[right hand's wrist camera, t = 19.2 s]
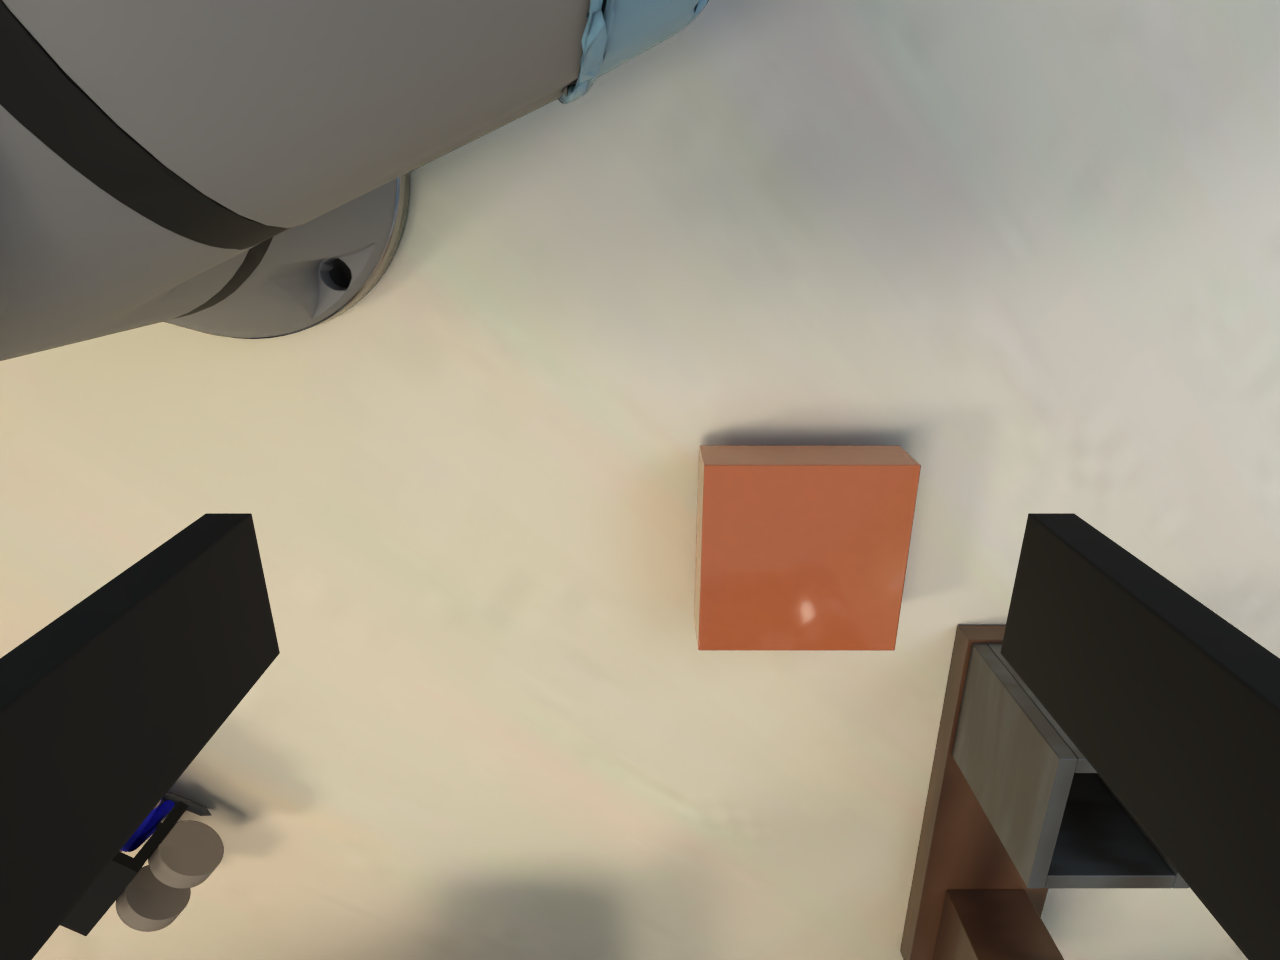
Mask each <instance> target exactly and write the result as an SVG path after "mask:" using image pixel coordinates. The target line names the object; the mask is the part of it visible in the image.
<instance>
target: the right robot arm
mask: <svg viewBox="0 0 1280 960" xmlns="http://www.w3.org/2000/svg"><path fill="white" fill-rule="evenodd" d="M707 2H708V0H0V361H2V360H7V359H11V358H15V357H19V356H23V355H27V354H31V353H35V352H39V351H44V350H48V349H52V348H56V347H60V346H64V345H68V344H72V343H77V342H81V341H85V340H89V339H93V338H97V337H101V336H105V335H109V334H114V333H118V332H122V331H126V330H130V329H134V328H138V327H142V326H146V325H151V324H155V323H159V322H166V323H170V324H174V325H177V326H181V327H185V328H188V329H192V330H196V331H200V332H203V333H207V334H212V335H218V336H225V337H232V338H244V339H261V338H272V337H279V336H285V335H289V334H292V333H296V332H300V331H303V330H305V329H308V328H311V327H313V326H316V325H319V324H321V323H324V322H327V321H329V320H331V319H333V318H334V317H336V316H338V315H340V314H342V313H343V312H345V311H346V310H348V309H349V308H351V307H352V306H353V305H355V304H356V303H357V302H358V301H359V300H361V299H362V298H363V297H364V296H365V295H366V294H367V293H368V292H369V291H370V290H371V289H372V288H373V287H374V285H375V284H376V283H377V281H378V280H379V279H380V277H381V276H382V275H383V273H384V272H385V270H386V268H387V267H388V265H389V263H390V262H391V260H392V258H393V255H394V253H395V251H396V249H397V247H398V244H399V241H400V238H401V235H402V232H403V228H404V224H405V220H406V215H407V208H408V201H409V172H410V171H412V170H414V169H416V168H418V167H420V166H422V165H424V164H426V163H428V162H430V161H432V160H434V159H437V158H439V157H441V156H443V155H445V154H447V153H449V152H451V151H453V150H455V149H457V148H459V147H461V146H463V145H465V144H467V143H469V142H471V141H473V140H475V139H477V138H479V137H481V136H483V135H485V134H487V133H489V132H491V131H493V130H495V129H497V128H499V127H501V126H503V125H505V124H507V123H509V122H511V121H513V120H515V119H517V118H519V117H521V116H524V115H526V114H528V113H530V112H532V111H534V110H536V109H538V108H540V107H542V106H544V105H546V104H548V103H550V102H552V101H554V100H556V99H558V100H559V101H560V102H561V103H563V104H566V103H569V102H571V101H573V100H576V99H578V98H580V97H581V96H582V95H584V94H585V93H586V92H587V91H588V90H589V88H590V87H591V85H592V84H593V82H594V81H595V79H596V78H597V77H599V76H601V75H603V74H605V73H606V72H608V71H610V70H612V69H614V68H615V67H617V66H619V65H621V64H623V63H624V62H626V61H628V60H630V59H632V58H633V57H635V56H637V55H639V54H641V53H642V52H644V51H646V50H648V49H650V48H651V47H653V46H655V45H657V44H659V43H660V42H662V41H664V40H666V39H668V38H669V37H671V36H673V35H674V34H676V33H678V32H679V31H681V30H682V29H683V28H685V27H686V26H687V25H688V24H689V23H690V22H691V21H692V20H694V19H695V18H696V16H697V15H698V14H699V13H700V12H701V11H702V10H703V8H704V7H705V6H706V4H707ZM279 653H280V652H279V647H278V643H277V638H276V633H275V628H274V623H273V618H272V613H271V608H270V603H269V598H268V593H267V588H266V583H265V578H264V573H263V569H262V564H261V559H260V554H259V549H258V544H257V539H256V534H255V529H254V524H253V519H252V514H205V515H203V516H202V517H201V518H199V519H198V520H196V521H195V522H193V523H192V524H191V525H189V526H188V527H186V528H185V529H184V530H182V531H181V532H179V533H178V534H176V535H175V536H174V537H172V538H171V539H169V540H168V541H167V542H165V543H164V544H162V545H161V546H159V547H158V548H157V549H155V550H154V551H152V552H151V553H150V554H148V555H147V556H145V557H144V558H142V559H141V560H140V561H138V562H137V563H135V564H134V565H132V566H131V567H130V568H128V569H127V570H125V571H124V572H123V573H121V574H120V575H118V576H117V577H115V578H114V579H113V580H111V581H110V582H108V583H107V584H106V585H104V586H103V587H101V588H100V589H98V590H97V591H96V592H94V593H93V594H91V595H90V596H89V597H87V598H86V599H84V600H83V601H81V602H80V603H79V604H77V605H76V606H74V607H73V608H72V609H70V610H69V611H67V612H66V613H64V614H63V615H62V616H60V617H59V618H57V619H56V620H54V621H53V622H52V623H50V624H49V625H47V626H46V627H45V628H43V629H42V630H40V631H39V632H37V633H36V634H35V635H33V636H32V637H30V638H29V639H28V640H26V641H25V642H23V643H22V644H20V645H19V646H18V647H16V648H15V649H13V650H12V651H11V652H9V653H8V654H6V655H5V656H3V657H2V658H1V659H0V960H32V958H33V957H34V956H35V955H36V953H37V952H38V951H39V950H40V949H41V947H42V946H43V945H44V944H45V942H46V941H47V940H48V939H49V937H50V936H51V935H52V934H53V932H54V931H55V930H56V929H57V928H58V926H59V925H60V924H61V923H62V921H63V920H64V919H65V918H66V916H67V915H68V914H69V913H70V911H71V910H72V909H73V908H74V907H75V905H76V904H77V903H78V902H79V900H80V899H81V898H82V897H83V895H84V894H85V893H86V892H87V890H88V889H89V888H90V887H91V886H92V884H93V883H94V882H95V881H96V879H97V878H98V877H99V876H100V874H101V873H102V872H103V871H104V869H105V868H106V867H107V866H108V865H109V863H110V862H111V861H112V860H113V858H114V857H115V856H116V855H117V853H118V852H119V851H120V850H121V848H122V847H123V846H124V845H125V844H126V842H127V841H128V840H129V839H130V837H131V836H132V835H133V834H134V832H135V831H136V830H137V829H138V827H139V826H140V825H141V824H142V822H143V821H144V820H145V819H146V818H147V816H148V815H149V814H150V813H151V811H152V810H153V809H154V808H155V806H156V805H157V804H158V803H159V801H160V800H161V799H162V798H163V797H164V795H165V794H166V793H167V792H168V790H169V789H170V788H171V787H172V785H173V784H174V783H175V782H176V780H177V779H178V778H179V777H180V776H181V774H182V773H183V772H184V771H185V769H186V768H187V767H188V766H189V764H190V763H191V762H192V761H193V759H194V758H195V757H196V756H197V755H198V753H199V752H200V751H201V750H202V748H203V747H204V746H205V745H206V743H207V742H208V741H209V740H210V738H211V737H212V736H213V735H214V734H215V732H216V731H217V730H218V729H219V727H220V726H221V725H222V724H223V722H224V721H225V720H226V719H227V717H228V716H229V715H230V714H231V713H232V711H233V710H234V709H235V708H236V706H237V705H238V704H239V703H240V701H241V700H242V699H243V698H244V696H245V695H246V694H247V693H248V692H249V690H250V689H251V688H252V687H253V685H254V684H255V683H256V682H257V680H258V679H259V678H260V677H261V675H262V674H263V673H264V672H265V670H266V669H267V668H268V667H269V666H270V664H271V663H272V662H273V661H274V659H275V658H276V657H277V656H278V654H279ZM1000 653H1001V654H1002V656H1003V657H1004V658H1005V659H1006V661H1007V662H1008V663H1009V664H1010V666H1011V667H1012V668H1013V669H1014V670H1015V672H1016V673H1017V674H1018V675H1019V677H1020V678H1021V679H1022V680H1023V682H1024V683H1025V684H1026V685H1027V687H1028V688H1029V689H1030V690H1031V692H1032V693H1033V694H1034V695H1035V696H1036V698H1037V699H1038V700H1039V701H1040V703H1041V704H1042V705H1043V706H1044V708H1045V709H1046V710H1047V711H1048V713H1049V714H1050V715H1051V716H1052V717H1053V719H1054V720H1055V721H1056V722H1057V724H1058V725H1059V726H1060V727H1061V729H1062V730H1063V731H1064V732H1065V734H1066V735H1067V736H1068V737H1069V738H1070V740H1071V741H1072V742H1073V743H1074V745H1075V746H1076V747H1077V748H1078V750H1079V751H1080V752H1081V753H1082V755H1083V756H1084V757H1085V758H1086V759H1087V761H1088V762H1089V763H1090V764H1091V766H1092V767H1093V768H1094V769H1095V771H1096V772H1097V773H1098V774H1099V776H1100V777H1101V778H1102V779H1103V780H1104V782H1105V783H1106V784H1107V785H1108V787H1109V788H1110V789H1111V790H1112V792H1113V793H1114V794H1115V795H1116V797H1117V798H1118V799H1119V800H1120V801H1121V803H1122V804H1123V805H1124V806H1125V808H1126V809H1127V810H1128V811H1129V813H1130V814H1131V815H1132V816H1133V818H1134V819H1135V820H1136V821H1137V823H1138V824H1139V825H1140V826H1141V827H1142V829H1143V830H1144V831H1145V832H1146V834H1147V835H1148V836H1149V837H1150V839H1151V840H1152V841H1153V842H1154V844H1155V845H1156V846H1157V847H1158V848H1159V850H1160V851H1161V852H1162V853H1163V855H1164V856H1165V857H1166V858H1167V860H1168V861H1169V862H1170V863H1171V865H1172V866H1173V867H1174V868H1175V869H1176V871H1177V872H1178V873H1179V874H1180V876H1181V877H1182V878H1183V879H1184V881H1185V882H1186V883H1187V884H1188V886H1189V887H1190V888H1191V889H1192V890H1193V892H1194V893H1195V894H1196V895H1197V897H1198V898H1199V899H1200V900H1201V902H1202V903H1203V904H1204V905H1205V907H1206V908H1207V909H1208V910H1209V911H1210V913H1211V914H1212V915H1213V916H1214V918H1215V919H1216V920H1217V921H1218V923H1219V924H1220V925H1221V926H1222V928H1223V929H1224V930H1225V931H1226V932H1227V934H1228V935H1229V936H1230V937H1231V939H1232V940H1233V941H1234V942H1235V944H1236V945H1237V946H1238V947H1239V949H1240V950H1241V951H1242V952H1243V953H1244V955H1245V956H1246V957H1247V958H1248V960H1280V659H1279V658H1278V657H1277V656H1275V655H1274V654H1272V653H1271V652H1269V651H1268V650H1267V649H1265V648H1264V647H1262V646H1261V645H1260V644H1258V643H1257V642H1255V641H1254V640H1252V639H1251V638H1250V637H1248V636H1247V635H1245V634H1244V633H1243V632H1241V631H1240V630H1238V629H1237V628H1235V627H1234V626H1233V625H1231V624H1230V623H1228V622H1227V621H1226V620H1224V619H1223V618H1221V617H1220V616H1218V615H1217V614H1216V613H1214V612H1213V611H1211V610H1210V609H1208V608H1207V607H1206V606H1204V605H1203V604H1201V603H1200V602H1199V601H1197V600H1196V599H1194V598H1193V597H1191V596H1190V595H1189V594H1187V593H1186V592H1184V591H1183V590H1182V589H1180V588H1179V587H1177V586H1176V585H1174V584H1173V583H1172V582H1170V581H1169V580H1167V579H1166V578H1165V577H1163V576H1162V575H1160V574H1159V573H1157V572H1156V571H1155V570H1153V569H1152V568H1150V567H1149V566H1148V565H1146V564H1145V563H1143V562H1142V561H1140V560H1139V559H1138V558H1136V557H1135V556H1133V555H1132V554H1130V553H1129V552H1128V551H1126V550H1125V549H1123V548H1122V547H1121V546H1119V545H1118V544H1116V543H1115V542H1113V541H1112V540H1111V539H1109V538H1108V537H1106V536H1105V535H1104V534H1102V533H1101V532H1099V531H1098V530H1096V529H1095V528H1094V527H1092V526H1091V525H1089V524H1088V523H1087V522H1085V521H1084V520H1082V519H1081V518H1079V517H1078V516H1077V515H1075V514H1028V519H1027V524H1026V529H1025V534H1024V539H1023V544H1022V549H1021V554H1020V559H1019V564H1018V569H1017V573H1016V578H1015V583H1014V588H1013V593H1012V598H1011V603H1010V608H1009V613H1008V618H1007V623H1006V628H1005V633H1004V638H1003V643H1002V647H1001V652H1000Z"/></svg>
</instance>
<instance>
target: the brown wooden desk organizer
mask: <svg viewBox="0 0 1280 960" xmlns="http://www.w3.org/2000/svg"><path fill="white" fill-rule="evenodd" d="M1005 628H1006V625H958V626H957V632H956V637H955V643H954V649H953V655H952V660H951V666H950V672H949V677H948V683H947V689H946V694H945V700H944V706H943V712H942V717H941V723H940V729H939V734H938V740H937V746H936V751H935V757H934V763H933V768H932V774H931V780H930V786H929V791H928V797H927V803H926V808H925V814H924V820H923V825H922V831H921V837H920V842H919V848H918V854H917V860H916V865H915V871H914V877H913V882H912V888H911V894H910V899H909V905H908V911H907V916H906V922H905V928H904V934H903V939H902V945H901V953H902V956H903V959H904V960H1064V959H1063V957H1062V955H1061V953H1060V952H1059V950H1058V948H1057V946H1056V944H1055V943H1054V941H1053V939H1052V937H1051V936H1050V934H1049V932H1048V930H1047V929H1046V927H1045V925H1044V923H1043V921H1042V920H1041V914H1042V910H1043V906H1044V903H1045V899H1046V895H1047V891H1048V888H1189V886H1188V884H1187V883H1186V882H1185V881H1184V879H1183V878H1182V877H1181V876H1180V874H1179V873H1178V872H1177V871H1176V869H1175V868H1174V867H1173V866H1172V865H1171V863H1170V862H1169V861H1168V860H1167V858H1166V857H1165V856H1164V855H1163V853H1162V852H1161V851H1160V850H1159V848H1158V847H1157V846H1156V845H1155V844H1154V842H1153V841H1152V840H1151V839H1150V837H1149V836H1148V835H1147V834H1146V832H1145V831H1144V830H1143V829H1142V827H1141V826H1140V825H1139V824H1138V823H1137V821H1136V820H1135V819H1134V818H1133V816H1132V815H1131V814H1130V813H1129V811H1128V810H1127V809H1126V808H1125V806H1124V805H1123V804H1122V803H1121V801H1120V800H1119V799H1118V798H1117V797H1116V795H1115V794H1114V793H1113V792H1112V790H1111V789H1110V788H1109V787H1108V785H1107V784H1106V783H1105V782H1104V780H1103V779H1102V778H1101V777H1100V776H1099V774H1098V773H1097V772H1096V771H1095V769H1094V768H1093V767H1092V766H1091V764H1090V763H1089V762H1088V761H1087V759H1086V758H1085V757H1084V756H1083V755H1082V753H1081V752H1080V751H1079V750H1078V748H1077V747H1076V746H1075V745H1074V743H1073V742H1072V741H1071V740H1070V738H1069V737H1068V736H1067V735H1066V734H1065V732H1064V731H1063V730H1062V729H1061V727H1060V726H1059V725H1058V724H1057V722H1056V721H1055V720H1054V719H1053V717H1052V716H1051V715H1050V714H1049V713H1048V711H1047V710H1046V709H1045V708H1044V706H1043V705H1042V704H1041V703H1040V701H1039V700H1038V699H1037V698H1036V696H1035V695H1034V694H1033V693H1032V692H1031V690H1030V689H1029V688H1028V687H1027V685H1026V684H1025V683H1024V682H1023V680H1022V679H1021V678H1020V677H1019V675H1018V674H1017V673H1016V672H1015V670H1014V669H1013V668H1012V667H1011V666H1010V664H1009V663H1008V662H1007V661H1006V659H1005V658H1004V657H1003V656H1002V654H1001V653H1000V652H1001V647H1002V643H1003V638H1004V633H1005Z"/></svg>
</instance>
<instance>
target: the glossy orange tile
mask: <svg viewBox="0 0 1280 960" xmlns="http://www.w3.org/2000/svg"><path fill="white" fill-rule="evenodd" d="M920 468H921V465H920V464H919V463H918V462H917V461H916V460H914V459H913V458H912V457H911V456H910V455H909V454H908V453H907V452H906V451H905V450H904V449H903V448H901V447H900V446H700V447H699V475H698V509H697V542H696V576H695V609H694V621H695V629H696V637H697V644H698V650H895V643H896V636H897V629H898V622H899V615H900V608H901V601H902V594H903V587H904V580H905V573H906V566H907V559H908V552H909V545H910V538H911V531H912V524H913V517H914V510H915V503H916V496H917V489H918V482H919V475H920Z"/></svg>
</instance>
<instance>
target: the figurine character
mask: <svg viewBox="0 0 1280 960" xmlns="http://www.w3.org/2000/svg"><path fill="white" fill-rule="evenodd" d="M162 799H164V800H165V801H164V802H163V803H162V804H161V805H160V803H161V801H162ZM162 799H161V800H160V801H159V803H158V804H157V805H156V806H155V808H154V809H153V810H152V811H151V813H150V814H149V815H148V816H147V818H146V819H145V820H144V821H143V822H142V824H141V825H140V826H139V827H138V829H137V830H136V831H135V832H134V834H133V835H132V836H131V837H130V839H129V840H128V841H127V842H126V844H125V845H124V846H123V847H122V848H121V850H120V851H119V852H118V853H117V855H116V856H115V857H114V858H113V860H112V861H111V862H110V863H109V865H108V866H107V867H106V868H105V869H104V871H103V872H102V873H101V874H100V876H99V877H98V878H97V879H96V881H95V882H94V883H93V884H92V886H91V887H90V888H89V889H88V890H87V892H86V893H85V894H84V895H83V897H82V898H81V899H80V900H79V902H78V903H77V904H76V905H75V907H74V908H73V909H72V910H71V911H70V913H69V914H68V915H67V916H66V918H65V919H64V920H63V921H62V923H61V924H60V925H61V926H64V927H66V928H68V929H70V930H73V931H75V932H77V933H80V934H82V935H84V936H87V935H88V933H89V932H90V931H91V930H92V928H93V927H94V926H95V925H96V924H97V922H98V921H99V920H100V919H101V918H102V916H103V915H104V914H105V913H106V911H107V910H108V909H109V908H110V907H111V905H112V904H113V903H114V902H115V900H116V910H117V913H118V915H119V917H120V919H121V920H122V921H123V922H124V923H125V924H126V925H128V926H129V927H131V928H133V929H135V930H139V931H145V932H151V931H157V930H160V929H163V928H165V927H166V926H168V925H169V924H171V923H172V922H173V921H174V920H175V919H176V917H177V916H178V915H179V914H180V913H181V912H182V910H183V909H184V908H185V907H186V905H187V904H188V901H189V899H190V892H191V891H190V888H191V887H194V886H197V885H199V884H201V883H202V882H204V881H205V880H206V879H207V878H208V877H209V875H210V874H211V873H212V872H213V871H214V870H215V868H216V867H217V866H218V865H219V864H220V862H221V860H222V857H223V853H224V848H223V843H222V840H221V838H220V837H219V835H218V834H217V833H216V832H215V831H214V830H213V829H212V828H211V827H209V826H208V825H206V824H203V823H201V822H197V821H181V822H178V823H176V822H177V821H178V819H179V818H180V817H181V816H182V814H183V813H184V812H185V810H188V811H190V812H193V813H195V814H198V815H200V816H208V815H211V814H210V812H209V811H208V810H207V808H206V807H203V806H201V805H199V804H196V803H194V802H192V801H189V800H187V799H184V798H182V797H180V796H177V795H175V794H173V793H166V794H165V795H164V797H163V798H162ZM159 805H160V806H159ZM175 805H176V807H175V808H174V809H173V807H174V806H175ZM158 806H159V807H158ZM172 809H173V810H172ZM171 810H172V812H171V813H170V814H169V815H168V816H167V818H166V819H165V820H164V821H163V823H161V822H160V821H161V820H162V819H163V818H164V817H165V816H166V815H167V814H168V813H169V812H170V811H171ZM152 834H153V835H152ZM151 835H152V836H151ZM150 836H151V837H150ZM149 837H150V839H149V840H148V841H147V842H146V844H145V845H144V846H143V847H142V849H141V850H140V851H139V852H138V853H137V855H136V856H135V857H134V858H132V857H130V856H128V855H126V854H124V853H121V852H122V851H125V852H131V851H134V850H135V849H137V848H138V847H139V846H140V845H141V844H142V843H143V842H144V841H145V840H147V839H148V838H149ZM147 859H148V863H149V865H147V866H145V867H142V866H143V865H144V863H145V862H146V860H147Z"/></svg>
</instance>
